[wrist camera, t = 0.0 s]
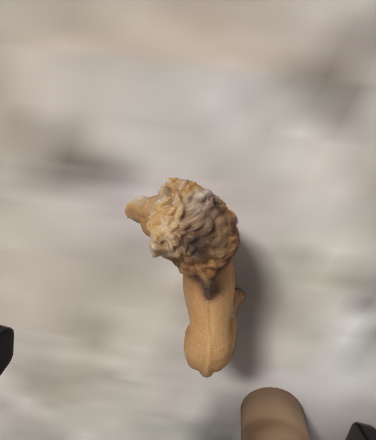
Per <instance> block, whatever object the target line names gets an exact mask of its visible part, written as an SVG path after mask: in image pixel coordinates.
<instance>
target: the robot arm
mask: <svg viewBox="0 0 376 440" xmlns="http://www.w3.org/2000/svg"><path fill="white" fill-rule="evenodd" d="M13 348H14V331H13V329H12V328H10V327H6V326H3V325H0V375H1V374H2V372H3V371H4V370H5V368H6V367H7V366H8V364H9V363H10V361H11V359H12V356H13ZM346 440H376V429H375V428H374V427H373V426H370V425H367V424H363V423H360V422H355V423H353V424H352V426H351V428H350V430H349V433H348V435H347V437H346Z"/></svg>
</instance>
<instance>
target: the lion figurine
mask: <svg viewBox="0 0 376 440" xmlns="http://www.w3.org/2000/svg"><path fill="white" fill-rule="evenodd" d="M125 214H126V216H127V217H128V218H130V219H132V220H134V221H136V222H138V223H141V227H142V230H143V232H144V233H145V234H146V235H147V236H149V237H150V238H151V241H150V245H149V246H150V250H151V254H152V256H153V257H158V256H160V255H161V256H162V257H164V258H166V259H168V260H171V261H172V262H173V263H174V265H176V266H177V267H178V269H179V272H180V273H182V274H183V289H184V295H185V301H186V305H187V308H188V313H189V317H190V323H191V324H189V326H188V327H187V329H186V332H185V340H184V351H185V356H186V360H187V362H188V365H189V366H190V367H191V368H193V369H195V370H198V371H199V372H200V374H201V375H202V376H204V377H210V376H211V375H212V374H213V372H217V371H220V370H221V369H222V368H224V367H225V366H226V365H227V364H228V362H229V360H230V358H231V356H232V355H233V351H234V347H235V343H236V336H237V322H236V315H237V310H238V307H239V305H240V304H241V302H242V301H243V299H244V293H243V292H242V291H241V290H240V289H235V272H234V266H233V259H234V256H235V252H236V250H237V248H238V245H239V241H240V240H239V232H238V228H237V227H236V222H235V219H236V215H235V214H234V213H233V212H232V211H231V210H229V209H228V207H226V204H225V203H224V201H223V200H221V199H220V198H219V197H218V196H216V195H214V194H213V193H212V192H211V191H210V190H208V189H204V188H202V187H201V186H200V185H198V184H196V182H192V181H190V180H182V179H178V178H170V177H169V178H167V181H166V182H165V183H164V184H163V186H162V187H160V189H159V190H158V195H156V196H153V197H145V196H138V197H136V198H135V199H133V200H132V202H129V203H128V204H127V206H126V208H125Z"/></svg>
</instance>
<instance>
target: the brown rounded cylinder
mask: <svg viewBox="0 0 376 440" xmlns="http://www.w3.org/2000/svg"><path fill="white" fill-rule="evenodd" d="M241 440H310V436H309V432H308V428H307V424H306V420H305V416H304V412H303V408H302V406H301V404H300V402H299V401H298V400H297V399H296V398H295V397H294V396H293V395H292V394H290V393H289V392H287V391H285V390H282V389H278V388H272V387H267V388H261V389H257V390H255V391H253V392H251V393H250V394H248V395H247V396H246V398H245V399H244V400H243V402H242V405H241Z"/></svg>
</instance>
